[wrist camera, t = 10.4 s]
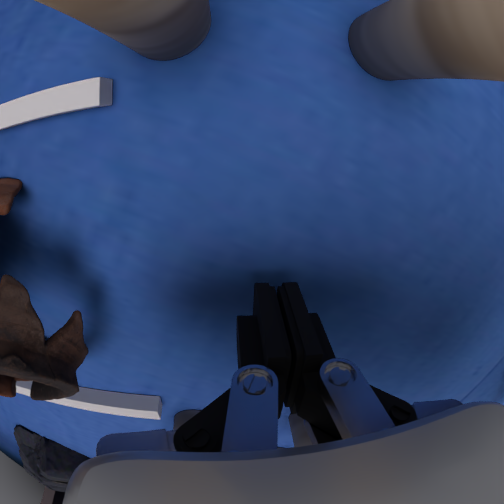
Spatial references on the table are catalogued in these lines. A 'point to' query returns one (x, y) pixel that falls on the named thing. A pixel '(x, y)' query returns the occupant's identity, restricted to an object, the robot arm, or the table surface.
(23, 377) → the rusty ring bracket
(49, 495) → the portable electronic device stand
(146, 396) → the frame
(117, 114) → the table surface
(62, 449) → the crumpled grey pouch
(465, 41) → the spacer posts
